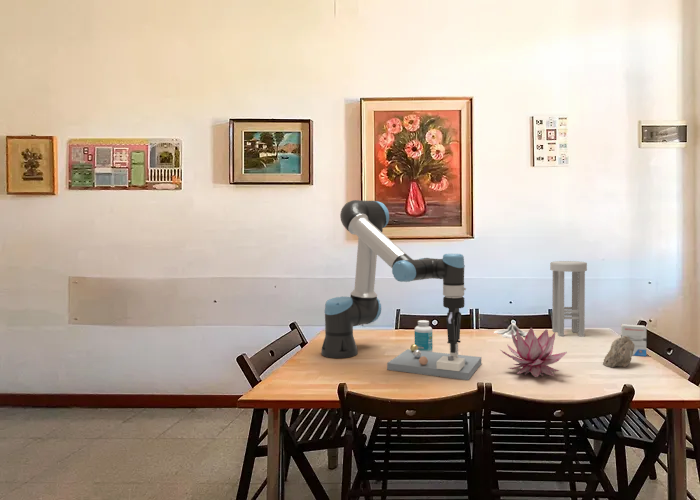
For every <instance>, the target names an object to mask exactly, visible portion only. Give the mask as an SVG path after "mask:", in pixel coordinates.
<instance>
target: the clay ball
mask: <svg viewBox="0 0 700 500" xmlns="http://www.w3.org/2000/svg"><path fill="white" fill-rule="evenodd" d="M419 363H420V364H421V365H426V364H427V363H428V359H427V358H426V357H425V356H422V357H420V358H419Z"/></svg>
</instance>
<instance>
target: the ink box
mask: <svg viewBox="0 0 700 500" xmlns="http://www.w3.org/2000/svg"><path fill="white" fill-rule="evenodd" d="M620 332H621V333H620V337H622V336H628V337H629V338H630V340H632V342H633V343H634V345H635V346H634V351H633V354H632V356H633V357H634V356H636V357H647V335H648V334H647V332H648V331H647V327H646V326H645V325H641V324H640V325H638V324H625V323H621V325H620Z"/></svg>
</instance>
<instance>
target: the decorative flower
mask: <svg viewBox="0 0 700 500" xmlns="http://www.w3.org/2000/svg"><path fill="white" fill-rule="evenodd" d="M518 328H519V327H518ZM518 328H517V332H516V335H517V336H516V337H515V336H514V334H513V332H512V331H511V334H512V338H511V339H512V343H513V345H514V346H515V348H516V350H515V349H514V348H512V347H511V346H510V345H509V344H507V347H508V349H509V351H510V352H511V353H512V354H513V355H510V354H509V353H507V352H505V351H503V350H501V349H500V351H501V352H502V354H504V355H505V356H507V357H508V358H511V359H512V360H513V361H515V362H517V363H513V365H514V367H508V369H510V370H515V369H520V368H521V369H520V370H518V372H516V374H517V375H518V374H519V375H520V374H523V373H524V376H526V375H528V374H529V373H530V374H531V375H532V376H533V377H534V378H538V377H539V376H540V375H541V376H542V377H544V374H545V375H547V376H548V375H549V376H554V377H555V376H556V375H555V373H553V372H559V371H560V370H558V369H556V368H554V367H551V366H549V365H553V364H555V363H558V362H559V361H560V360H561V359H562V358H563V357H564V356H565V355H566V354H568V352H567V351H565V352H560V353H556V354H553V352H554V351H553V350H554V343H555V339H556V332H553V334H552V335H549V329H545V330H543V331H542V333H541V334H540V335H539V336H538V337H536V336H537V335H536V336H535V334H536V333H535V332H534V329H533V327H530V328H529V330H528V331H527V332H528V333H527V335H526V337H522V336H520V334H519V331H518ZM534 333H535V334H534Z"/></svg>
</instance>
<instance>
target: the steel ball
mask: <svg viewBox="0 0 700 500" xmlns="http://www.w3.org/2000/svg"><path fill="white" fill-rule="evenodd" d="M421 355H422V354H421V351H420V350H415V351H414V352H413V356H414V357H415V358H420V357H421Z"/></svg>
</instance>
